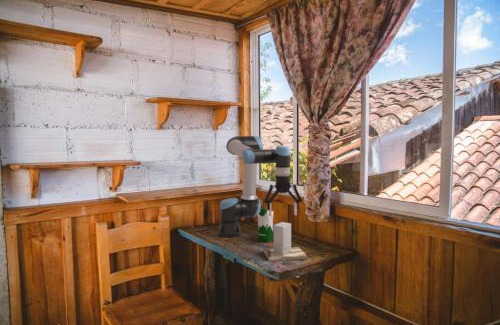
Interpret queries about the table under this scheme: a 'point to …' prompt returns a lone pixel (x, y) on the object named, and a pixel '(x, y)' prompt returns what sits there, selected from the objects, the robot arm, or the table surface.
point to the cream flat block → (294, 254)
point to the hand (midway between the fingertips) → (282, 215)
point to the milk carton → (265, 225)
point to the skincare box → (282, 238)
